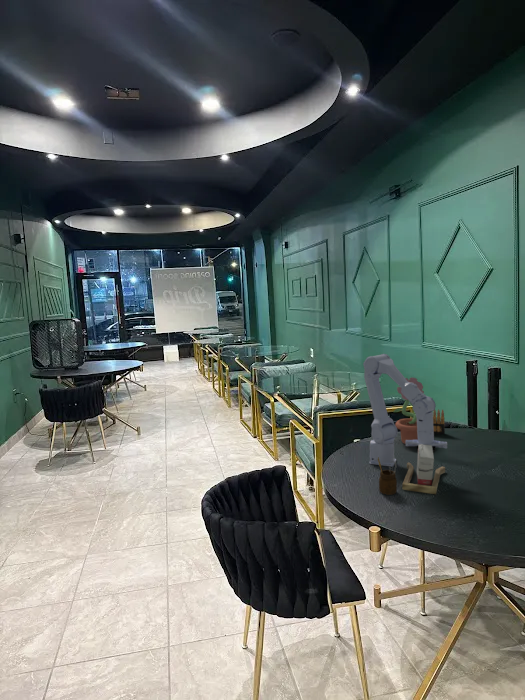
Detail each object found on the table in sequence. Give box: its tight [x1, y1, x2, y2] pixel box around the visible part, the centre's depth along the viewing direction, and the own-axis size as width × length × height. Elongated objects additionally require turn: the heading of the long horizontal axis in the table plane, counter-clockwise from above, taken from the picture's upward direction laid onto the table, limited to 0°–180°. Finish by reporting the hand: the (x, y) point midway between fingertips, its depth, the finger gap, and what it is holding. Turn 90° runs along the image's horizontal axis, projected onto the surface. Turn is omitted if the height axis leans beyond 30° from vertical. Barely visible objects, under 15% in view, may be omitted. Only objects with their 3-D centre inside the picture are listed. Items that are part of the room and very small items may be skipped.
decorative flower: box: [393, 376, 425, 445], centre depth 205 cm, size 15×14×30 cm
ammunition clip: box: [432, 409, 446, 435], centre depth 218 cm, size 11×2×12 cm, turn 68°
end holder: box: [402, 462, 446, 495], centre depth 166 cm, size 14×21×2 cm, turn 154°
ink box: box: [416, 444, 435, 486], centre depth 163 cm, size 9×5×12 cm, turn 164°
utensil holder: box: [378, 457, 398, 496], centre depth 157 cm, size 6×6×12 cm
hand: (427, 465), depth 169 cm, fingers closed, pressing on ink box
